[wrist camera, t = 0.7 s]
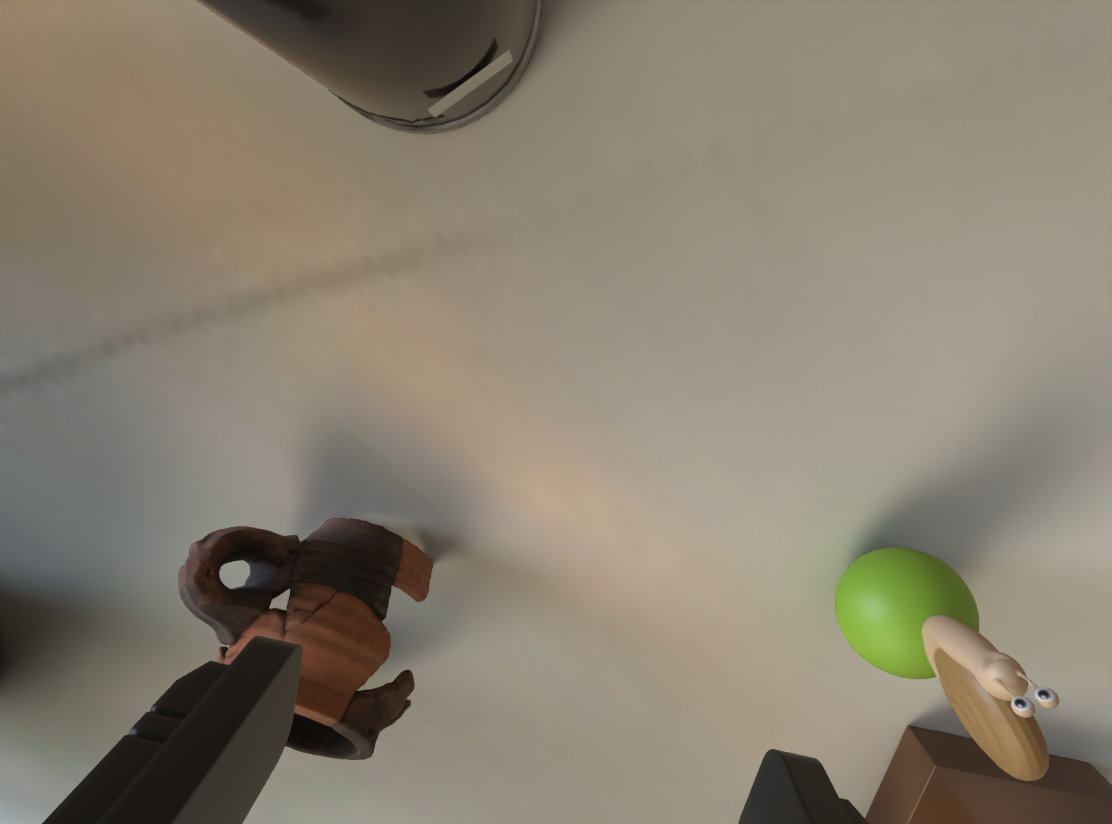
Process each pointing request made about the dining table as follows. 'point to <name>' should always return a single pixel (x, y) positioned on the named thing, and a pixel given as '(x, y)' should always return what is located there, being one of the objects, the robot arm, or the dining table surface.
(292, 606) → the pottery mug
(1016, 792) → the dial panel
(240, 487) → the dining table surface
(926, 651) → the snail figurine
